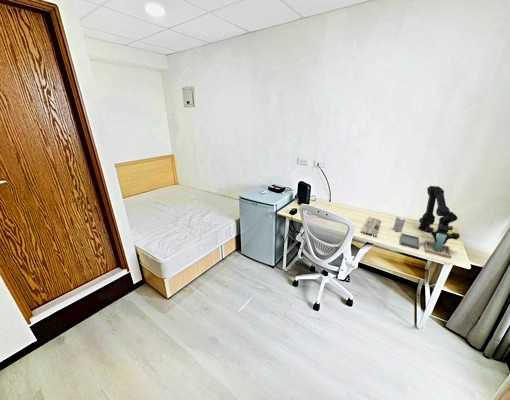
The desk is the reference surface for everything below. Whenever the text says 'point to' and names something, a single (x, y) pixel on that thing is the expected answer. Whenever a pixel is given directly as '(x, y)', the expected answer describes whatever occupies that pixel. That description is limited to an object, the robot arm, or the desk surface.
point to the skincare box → (399, 224)
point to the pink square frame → (437, 252)
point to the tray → (409, 241)
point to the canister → (439, 242)
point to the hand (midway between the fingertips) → (439, 243)
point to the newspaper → (371, 226)
